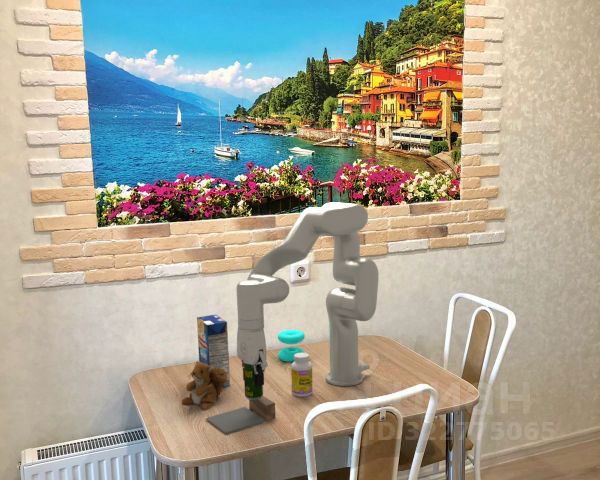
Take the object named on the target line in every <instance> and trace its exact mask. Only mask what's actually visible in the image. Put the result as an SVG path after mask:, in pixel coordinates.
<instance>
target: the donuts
mask: <svg viewBox="0 0 600 480" xmlns="http://www.w3.org/2000/svg"><path fill="white" fill-rule="evenodd" d="M305 338H306V336H305V333H304V332H303V331H302V330H298V329H285V330H281V331H280V332H278V335H277V339H278V341H279V342H280V343H282V344H285V345H297V344H300V343H302V342H304V340H305ZM296 353H306V351H304V350H303V348H301V347H297V346H289V347H288V346H287V347H284V348H282V349H280V350H279V351H278V355H277V356H278V358H279V359H280V361H283V362H287V363H293V362H295V359H294V355H295V354H296Z"/></svg>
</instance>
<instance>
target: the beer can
mask: <svg viewBox="0 0 600 480" xmlns="http://www.w3.org/2000/svg"><path fill="white" fill-rule="evenodd" d="M257 362H260V360H258V361H257ZM243 363H244V367H243V368H244V380H243V381H244V397H245V398H246V399H247V400H248V401H249V400H258V399H260V398H262V396H264V385H262V386H258V387H254V379H253V374H254V373H255V372H254V367H253V365H250V364H248V363H246V362H245V361H243ZM259 366H260V364H259V365H257V369H258V367H259Z"/></svg>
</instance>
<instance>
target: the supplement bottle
mask: <svg viewBox="0 0 600 480" xmlns="http://www.w3.org/2000/svg"><path fill="white" fill-rule="evenodd" d="M294 359H295V362H291V367H290V368H291V369H290V372H291V393H292V395H294V396H296V397H299V398H301V397H302V398H305V397H309V396H311V395H312V394H313V364H312V362H311V361H309V359H310V355H309V353H307V352H305V353H296V354H295V355H294Z"/></svg>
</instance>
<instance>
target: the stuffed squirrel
mask: <svg viewBox="0 0 600 480" xmlns="http://www.w3.org/2000/svg"><path fill="white" fill-rule="evenodd" d="M195 363H196V364H195V365H194V367H193V369H192V372H190V373H189V374H188V376H187V377H188V379H189V380H190V379H191V378H192V379H193V380H192V381H191V382H189V383H187V384H186V386H185V387H186V388H185V389H186V391H187V392H189V393H190V394H189V396H187V397H183V398H182V400H181V404H182V405H189V404H195V405H197V406H200V407H201V409H202V410H208V409H210V408H212V407H213V406H215V404H216V400H217V398H219V397H220V396H221V394H222V392H223V387H222V386H224V385H223V384H224V383H225V382H226V381H228V380H227V379H228V378H227V377H228V376H227V374H229V375H230V372H229V373H227V372H226V371H225V370H224V369H221V368H214V369H212V368H213V366H212V365H211V366H208V365H207V364H205V363H201V362H199V360H197V361H195Z"/></svg>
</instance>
